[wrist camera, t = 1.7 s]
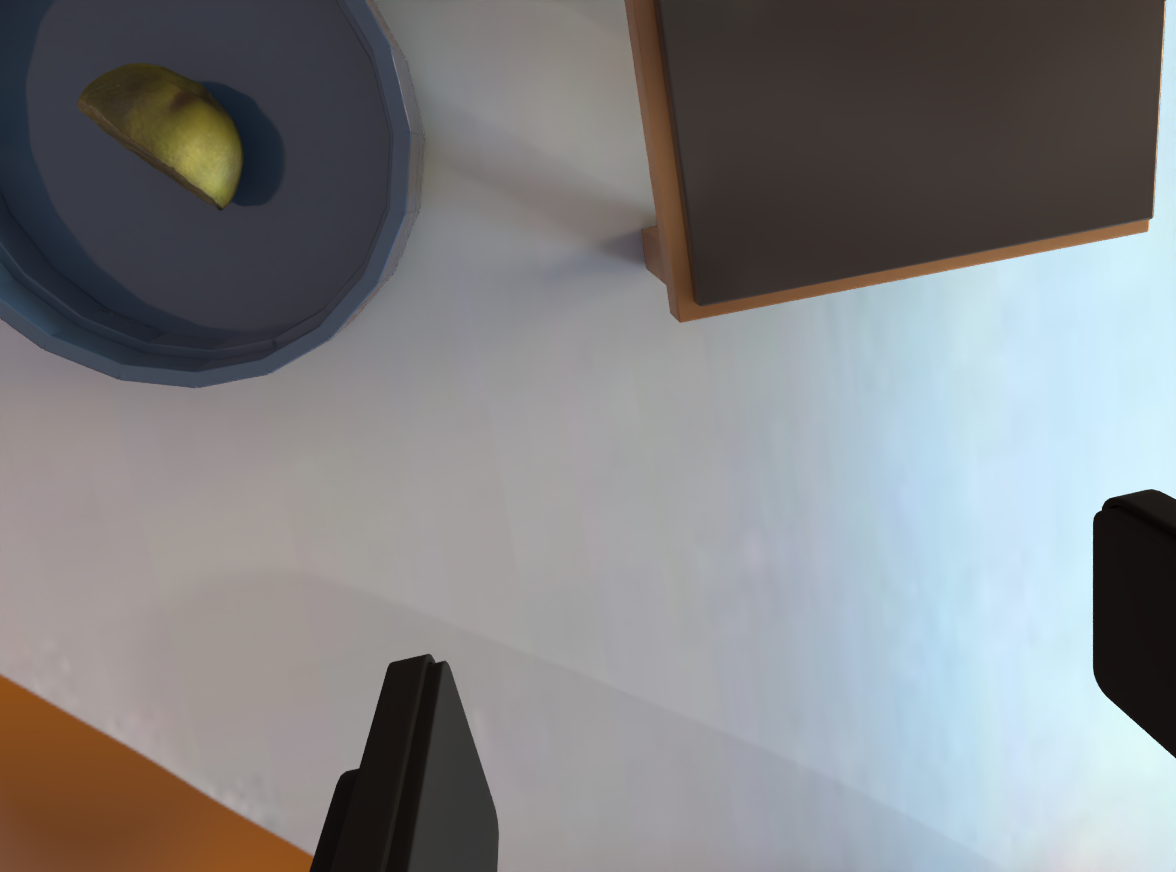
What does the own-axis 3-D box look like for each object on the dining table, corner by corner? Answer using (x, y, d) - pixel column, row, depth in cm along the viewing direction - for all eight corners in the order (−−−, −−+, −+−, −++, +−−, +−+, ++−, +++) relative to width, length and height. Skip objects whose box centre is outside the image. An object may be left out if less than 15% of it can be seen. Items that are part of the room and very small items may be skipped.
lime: (267, 210, 29) (216, 218, 24) (130, 202, 28) (51, 208, 24) (258, 78, 27) (202, 58, 23) (114, 68, 27) (25, 46, 22)
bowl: (-129, -71, 26) (-243, -113, 22) (356, -162, 26) (327, -220, 22) (67, 394, 31) (3, 426, 27) (468, 317, 31) (460, 337, 27)
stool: (573, -127, 26) (597, -287, 17) (975, -203, 27) (1212, -402, 17) (638, 281, 31) (684, 328, 22) (980, 215, 31) (1171, 233, 22)
